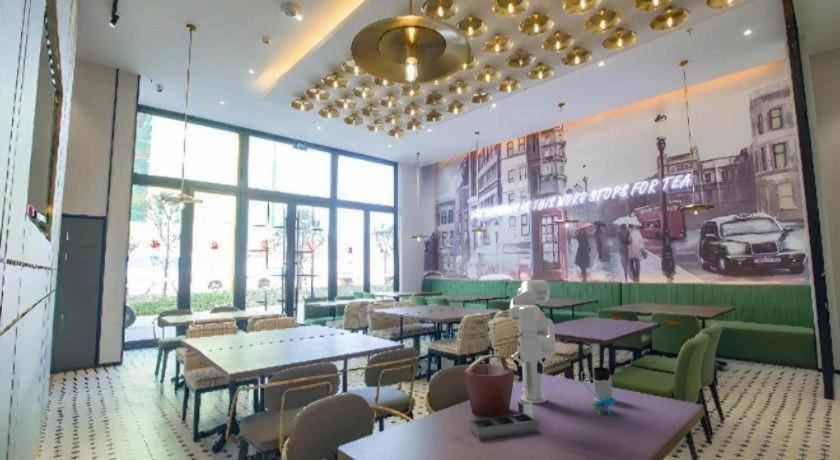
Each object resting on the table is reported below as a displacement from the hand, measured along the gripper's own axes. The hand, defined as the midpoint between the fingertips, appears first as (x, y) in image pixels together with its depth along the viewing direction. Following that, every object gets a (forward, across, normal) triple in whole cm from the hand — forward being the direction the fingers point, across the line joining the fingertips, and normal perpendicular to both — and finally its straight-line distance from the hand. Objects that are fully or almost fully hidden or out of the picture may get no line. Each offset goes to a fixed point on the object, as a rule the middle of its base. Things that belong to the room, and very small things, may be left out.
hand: (530, 374), depth 173 cm
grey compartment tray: (+19, -17, -7) cm, 27 cm away
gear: (+19, +36, -2) cm, 41 cm away
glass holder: (+19, +45, +13) cm, 50 cm away
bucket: (+19, -12, +15) cm, 27 cm away
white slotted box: (+19, -2, +1) cm, 19 cm away
